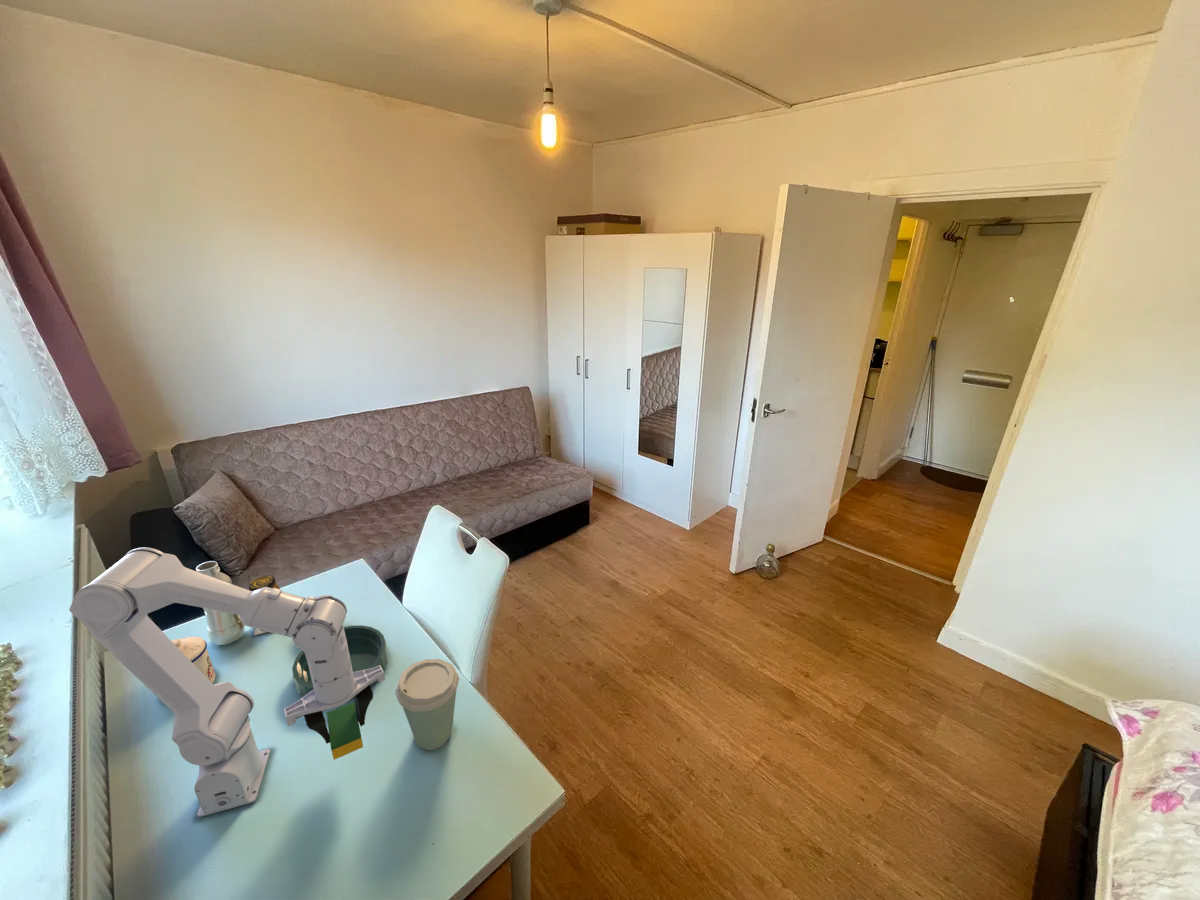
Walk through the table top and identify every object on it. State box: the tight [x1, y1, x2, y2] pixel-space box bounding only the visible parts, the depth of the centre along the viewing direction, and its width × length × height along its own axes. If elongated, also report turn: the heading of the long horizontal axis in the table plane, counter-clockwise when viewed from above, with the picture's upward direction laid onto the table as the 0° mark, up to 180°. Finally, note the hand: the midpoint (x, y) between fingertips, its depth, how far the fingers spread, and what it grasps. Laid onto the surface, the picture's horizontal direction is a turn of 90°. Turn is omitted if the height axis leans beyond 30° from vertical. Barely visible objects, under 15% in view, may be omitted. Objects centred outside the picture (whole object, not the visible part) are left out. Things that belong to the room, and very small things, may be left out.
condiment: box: [248, 575, 281, 636], centre depth 116 cm, size 7×8×12 cm
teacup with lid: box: [171, 635, 216, 684], centre depth 99 cm, size 12×9×12 cm
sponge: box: [326, 701, 364, 761], centre depth 83 cm, size 8×4×3 cm, turn 32°
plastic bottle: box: [195, 560, 245, 646], centre depth 109 cm, size 6×7×20 cm
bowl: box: [291, 624, 389, 698], centre depth 104 cm, size 18×18×4 cm
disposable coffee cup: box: [395, 658, 460, 751], centre depth 89 cm, size 11×11×15 cm
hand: (344, 729), depth 83 cm, fingers closed on sponge, 5 cm apart
